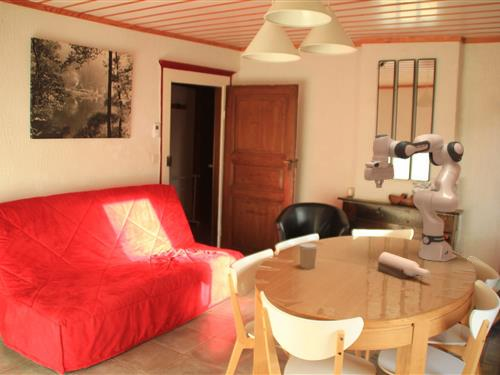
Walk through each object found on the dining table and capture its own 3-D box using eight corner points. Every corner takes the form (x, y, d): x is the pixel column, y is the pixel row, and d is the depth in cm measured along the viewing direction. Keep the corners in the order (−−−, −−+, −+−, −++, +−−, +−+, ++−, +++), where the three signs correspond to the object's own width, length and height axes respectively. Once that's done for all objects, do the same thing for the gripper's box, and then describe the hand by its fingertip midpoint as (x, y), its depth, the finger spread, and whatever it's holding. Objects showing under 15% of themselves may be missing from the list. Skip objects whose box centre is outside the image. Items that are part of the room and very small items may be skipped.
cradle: (396, 267, 277) (396, 259, 276) (419, 275, 263) (419, 266, 263) (377, 270, 270) (378, 262, 270) (400, 279, 257) (401, 270, 256)
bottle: (389, 263, 276) (434, 279, 251) (378, 268, 273) (423, 284, 247) (388, 249, 275) (433, 264, 249) (377, 254, 271) (422, 269, 245)
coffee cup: (318, 265, 277) (319, 244, 275) (313, 270, 269) (313, 248, 267) (302, 263, 281) (302, 242, 279) (296, 268, 273) (297, 246, 271)
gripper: (389, 162, 295) (388, 186, 297) (362, 163, 285) (361, 188, 287) (397, 163, 290) (396, 187, 292) (370, 164, 280) (369, 189, 281)
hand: (378, 187), depth 289 cm, fingers closed
